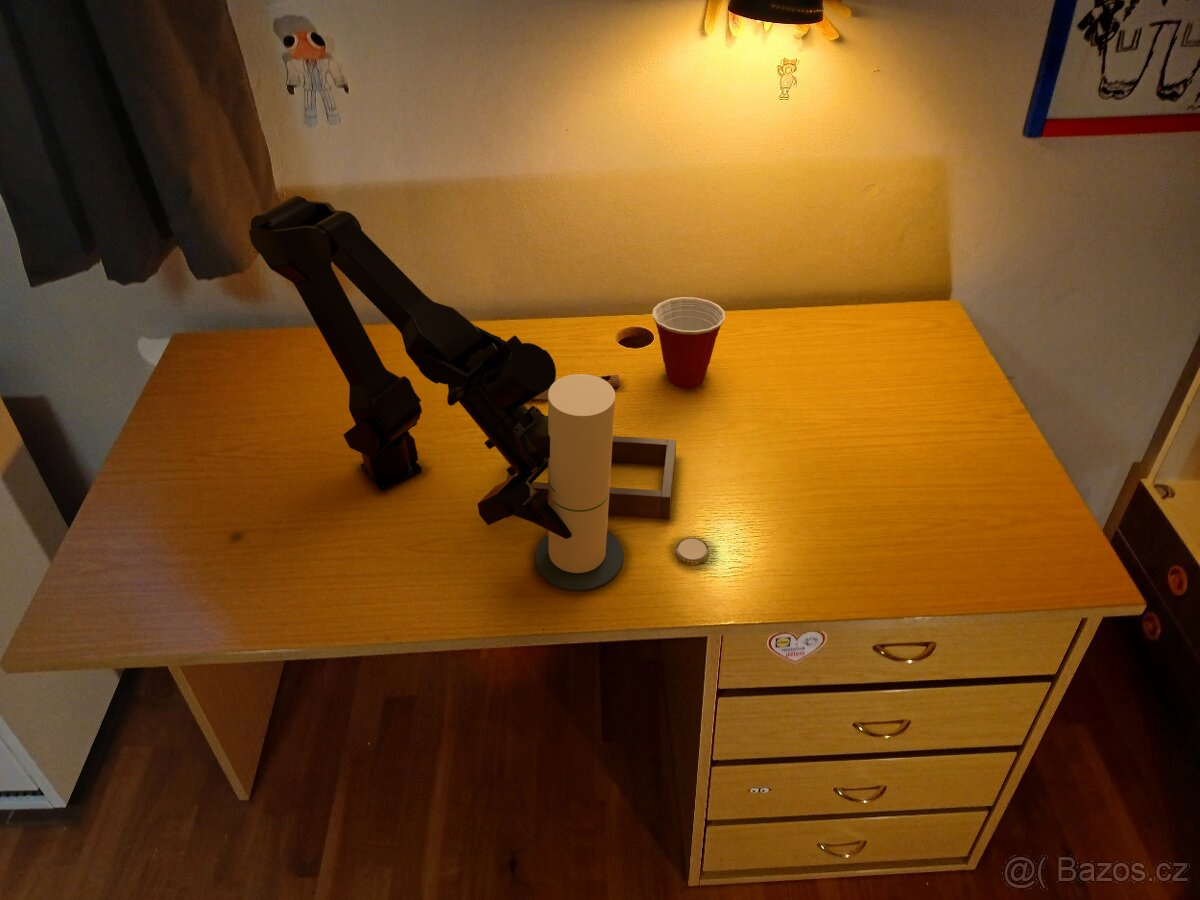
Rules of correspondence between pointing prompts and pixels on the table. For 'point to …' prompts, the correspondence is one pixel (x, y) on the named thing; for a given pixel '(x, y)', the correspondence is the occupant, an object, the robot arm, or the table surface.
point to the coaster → (581, 580)
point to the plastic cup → (687, 338)
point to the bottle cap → (692, 550)
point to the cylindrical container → (580, 468)
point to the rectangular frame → (638, 499)
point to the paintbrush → (611, 379)
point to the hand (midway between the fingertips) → (585, 519)
